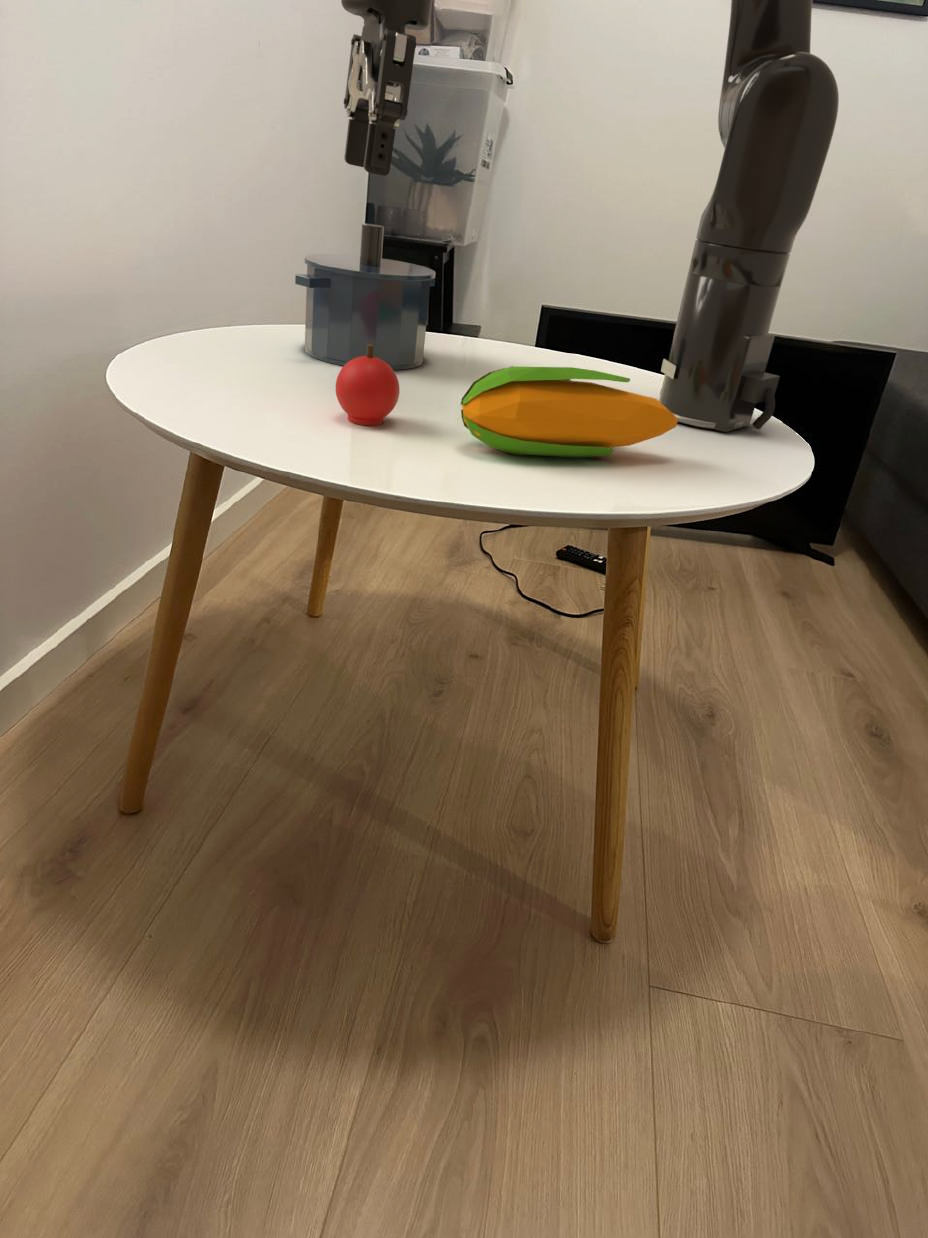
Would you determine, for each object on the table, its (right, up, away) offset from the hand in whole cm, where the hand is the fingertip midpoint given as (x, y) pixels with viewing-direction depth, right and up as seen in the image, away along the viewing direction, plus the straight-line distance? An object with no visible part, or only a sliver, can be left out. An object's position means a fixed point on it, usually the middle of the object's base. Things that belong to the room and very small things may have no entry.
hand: (365, 169), depth 78 cm
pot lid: (-2, -2, +17) cm, 17 cm away
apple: (0, -23, -2) cm, 23 cm away
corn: (+18, -27, -3) cm, 32 cm away
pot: (-3, -10, +22) cm, 24 cm away
